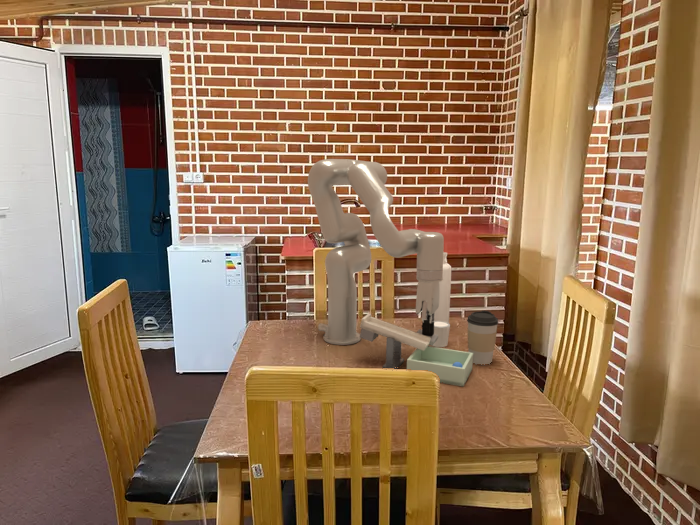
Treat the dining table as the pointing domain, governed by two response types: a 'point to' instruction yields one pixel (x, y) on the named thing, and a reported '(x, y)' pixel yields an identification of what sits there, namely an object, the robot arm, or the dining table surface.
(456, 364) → the ball
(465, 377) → the bin
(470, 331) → the coffee cup
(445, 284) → the bottle
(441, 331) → the shot glass
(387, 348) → the lever stand
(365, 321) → the lever
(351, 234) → the robot arm
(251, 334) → the dining table surface
